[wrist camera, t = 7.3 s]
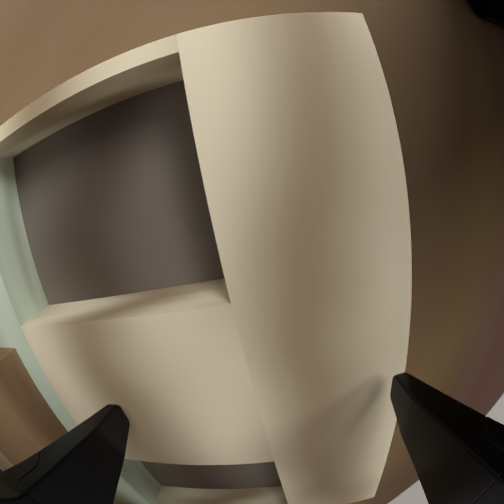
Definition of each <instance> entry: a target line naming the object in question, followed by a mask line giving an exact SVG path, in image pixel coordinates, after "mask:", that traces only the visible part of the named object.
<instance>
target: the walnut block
mask: <svg viewBox="0 0 504 504" xmlns="http://www.w3.org/2000/svg"><path fill="white" fill-rule="evenodd" d="M67 432H68V431H67V430H66V428H65V427H64V426H63V424H62V423H61V422H60V420H59V419H58V418H57V416H56V415H55V414H54V412H53V411H52V409H51V408H50V406H49V405H48V403H47V402H46V400H45V399H44V397H43V396H42V394H41V393H40V391H39V390H38V388H37V386H36V385H35V383H34V381H33V380H32V378H31V376H30V375H29V373H28V371H27V369H26V368H25V366H24V364H23V362H22V360H21V358H20V356H19V355H18V353H17V351H16V349H15V348H2V347H0V470H2V471H4V470H6V469H8V468H10V467H12V466H14V465H16V464H18V463H20V462H22V461H24V460H26V459H27V458H29V457H31V456H32V455H34V454H35V453H37V452H38V451H41V450H42V449H43V448H45V447H46V446H48V445H49V444H51V443H52V442H54V441H55V440H57V439H58V438H60V437H61V436H63V435H64V434H66V433H67Z"/></svg>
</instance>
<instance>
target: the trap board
mask: <svg viewBox="0 0 504 504" xmlns="http://www.w3.org/2000/svg"><path fill="white" fill-rule="evenodd" d="M411 294H412V252H411V230H410V215H409V204H408V194H407V185H406V177H405V170H404V163H403V157H402V151H401V145H400V140H399V135H398V130H397V125H396V120H395V116H394V111H393V107H392V103H391V99H390V95H389V91H388V87H387V84H386V80H385V77H384V73H383V70H382V67H381V64H380V60H379V57H378V54H377V51H376V48H375V46H374V43H373V40H372V37H371V34H370V32H369V29H368V27H367V24H366V22H365V19H364V17H363V14H362V13H351V12H305V13H289V14H277V15H268V16H260V17H253V18H246V19H240V20H234V21H229V22H224V23H219V24H215V25H210V26H206V27H202V28H198V29H194V30H190V31H186V32H183V33H179V34H176V35H173V36H169V37H166V38H163V39H160V40H157V41H154V42H151V43H149V44H146V45H143V46H140V47H138V48H135V49H133V50H130V51H128V52H125V53H123V54H120V55H118V56H116V57H114V58H111V59H109V60H107V61H105V62H103V63H100V64H98V65H96V66H94V67H92V68H90V69H88V70H86V71H84V72H82V73H80V74H79V75H77V76H75V77H73V78H71V79H69V80H68V81H66V82H64V83H62V84H61V85H59V86H57V87H56V88H54V89H52V90H51V91H49V92H47V93H46V94H44V95H43V96H41V97H40V98H38V99H37V100H35V101H34V102H32V103H31V104H29V105H28V106H26V107H25V108H23V109H22V110H21V111H19V112H18V113H17V114H15V115H14V116H13V117H11V118H10V119H9V120H7V121H6V122H5V123H4V124H2V125H1V126H0V347H2V348H15V349H16V351H17V353H18V355H19V356H20V358H21V360H22V362H23V364H24V366H25V368H26V369H27V371H28V373H29V375H30V376H31V378H32V380H33V381H34V383H35V385H36V386H37V388H38V390H39V391H40V393H41V394H42V396H43V397H44V399H45V400H46V402H47V403H48V405H49V406H50V408H51V409H52V411H53V412H54V414H55V415H56V416H57V418H58V419H59V420H60V422H61V423H62V424H63V426H64V427H65V428H66V430H67V431H68V432H69V431H70V430H72V429H73V428H75V427H76V426H77V425H79V424H80V423H82V422H83V421H85V420H86V419H88V418H89V417H90V416H92V415H93V414H95V413H96V412H98V411H99V410H100V409H102V408H103V407H105V406H106V405H108V404H117V405H119V406H120V407H121V408H122V410H123V411H124V413H125V415H126V416H127V418H128V419H129V422H130V428H129V434H128V440H127V446H126V452H125V458H124V463H123V467H122V471H121V474H120V478H119V482H118V486H117V490H116V494H115V498H114V503H113V504H350V503H354V502H358V501H361V500H365V499H368V498H372V497H374V496H375V493H376V491H377V488H378V485H379V482H380V479H381V476H382V473H383V469H384V466H385V463H386V459H387V456H388V452H389V449H390V445H391V441H392V437H393V433H394V429H395V424H396V420H397V418H396V415H395V412H394V408H393V405H392V402H391V398H390V392H391V385H392V379H393V376H394V375H397V374H400V373H403V372H405V368H406V360H407V352H408V342H409V331H410V317H411Z"/></svg>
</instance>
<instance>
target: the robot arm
mask: <svg viewBox="0 0 504 504" xmlns="http://www.w3.org/2000/svg"><path fill="white" fill-rule="evenodd" d="M469 2H470V4H471V6H472V7H473V9H474V11H475V12H476V13H477V14H478V15H479V16H480V17H481V18H483V19H486V20H488V21H491V22H493V23H495V24H497V25H500V26H502V27H504V0H469ZM390 398H391V402H392V405H393V408H394V412H395V415H396V418H397V422H398V425H399V429H400V432H401V435H402V438H403V441H404V443H405V446H406V448H407V450H408V453H409V455H410V457H411V460H412V462H413V465H414V467H415V470H416V472H417V475H418V477H419V480H420V482H421V485H422V487H423V490H424V492H425V495H426V498H427V500H428V503H429V504H504V425H503V424H501V423H499V422H497V421H494V420H493V419H491V418H489V417H486V416H485V415H483V414H481V413H479V412H477V411H475V410H474V409H472V408H470V407H468V406H466V405H464V404H462V403H461V402H459V401H457V400H455V399H453V398H451V397H450V396H448V395H446V394H444V393H442V392H440V391H439V390H437V389H435V388H433V387H431V386H430V385H428V384H426V383H424V382H422V381H421V380H419V379H417V378H415V377H414V376H412V375H410V374H408V373H406V372H403V373H400V374H397V375H394V376H393V379H392V385H391V392H390ZM129 428H130V422H129V419H128V418H127V416H126V415H125V413H124V411H123V410H122V408H121V407H120V406H119V405H117V404H108V405H106V406H105V407H103V408H102V409H100V410H99V411H98V412H96V413H95V414H93V415H92V416H90V417H89V418H88V419H86V420H85V421H83V422H82V423H80V424H79V425H77V426H76V427H75V428H73V429H72V430H70V431H69V432H67V433H66V434H64V435H63V436H61V437H60V438H58V439H57V440H55V441H54V442H52V443H51V444H49V445H48V446H46V447H45V448H43V449H42V450H41V451H38V452H37V453H35V454H34V455H32V456H31V457H29V458H27V459H26V460H24V461H22V462H20V463H18V464H16V465H14V466H12V467H10V468H8V469H6V470H4V471H2V472H0V504H113V503H114V498H115V494H116V490H117V486H118V482H119V478H120V474H121V471H122V467H123V463H124V458H125V452H126V446H127V440H128V434H129Z"/></svg>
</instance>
